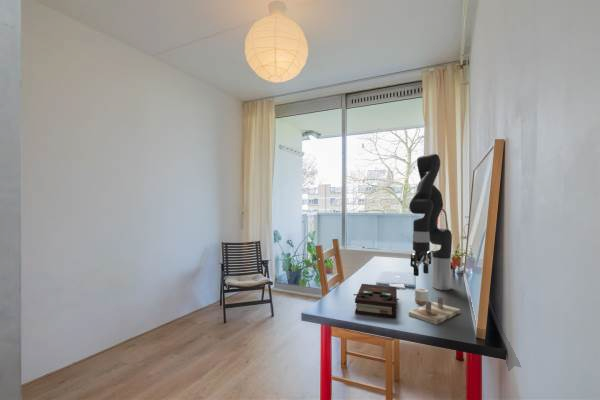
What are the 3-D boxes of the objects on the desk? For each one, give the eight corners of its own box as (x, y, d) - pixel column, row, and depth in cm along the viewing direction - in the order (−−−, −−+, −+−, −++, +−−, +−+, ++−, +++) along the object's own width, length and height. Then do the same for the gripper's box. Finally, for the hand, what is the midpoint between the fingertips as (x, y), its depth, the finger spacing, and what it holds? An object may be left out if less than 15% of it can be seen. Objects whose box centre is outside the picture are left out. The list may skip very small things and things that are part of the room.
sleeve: (419, 299, 142) (419, 287, 142) (430, 302, 137) (430, 290, 137) (413, 302, 138) (413, 289, 138) (424, 305, 134) (424, 292, 134)
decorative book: (399, 284, 144) (399, 303, 116) (399, 299, 144) (399, 322, 116) (360, 280, 150) (351, 298, 122) (360, 295, 150) (351, 316, 122)
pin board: (433, 304, 134) (432, 292, 134) (459, 312, 125) (459, 298, 125) (408, 315, 122) (408, 301, 122) (436, 324, 113) (436, 309, 113)
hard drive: (388, 280, 173) (390, 286, 161) (402, 281, 171) (405, 287, 159) (388, 283, 173) (390, 289, 161) (402, 284, 171) (405, 290, 159)
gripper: (421, 239, 146) (421, 271, 145) (405, 240, 137) (405, 275, 137) (436, 240, 140) (436, 274, 139) (420, 242, 131) (420, 278, 131)
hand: (421, 274), depth 138 cm, fingers open, 8 cm apart
